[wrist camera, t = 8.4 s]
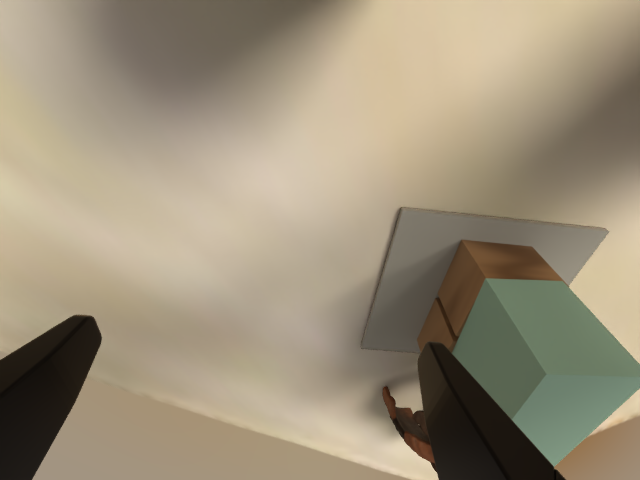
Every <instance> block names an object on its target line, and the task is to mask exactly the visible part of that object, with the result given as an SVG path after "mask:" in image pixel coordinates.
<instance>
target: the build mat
mask: <svg viewBox="0 0 640 480" xmlns="http://www.w3.org/2000/svg"><path fill="white" fill-rule="evenodd" d="M608 233H609V231H608V230H607V229H605V228H598V227H588V226H578V225H569V224H559V223H549V222H540V221H530V220H521V219H511V218H501V217H492V216H482V215H472V214H463V213H453V212H444V211H434V210H424V209H415V208H405V207H401V210H400V214H399V217H398V221H397V224H396V227H395V231H394V234H393V238H392V241H391V244H390V248H389V251H388V254H387V258H386V261H385V265H384V268H383V271H382V275H381V278H380V282H379V285H378V288H377V292H376V295H375V299H374V302H373V305H372V309H371V312H370V315H369V319H368V322H367V326H366V329H365V332H364V336H363V339H362V343H361V349H372V350H385V351H399V352H412V353H421V352H420V348H419V345H418V342H417V338H418V336H419V334H420V332H421V329H422V327H423V325H424V323H425V320H426V318H427V316H428V314H429V311H430V309H431V307H432V305H433V302H434V300H435V298H439V296H438V291H439V289H440V287H441V284H442V282H443V280H444V278H445V275H446V273H447V271H448V269H449V266H450V264H451V262H452V260H453V257H454V255H455V253H456V251H457V248H458V246H459V244H460V242H461V240H471V241H481V242H492V243H502V244H512V245H522V246H532V247H533V248H534V249H535V250H536V251H537V252H538V253H539V255H540V256H541V257H542V258H543V259H544V260H545V261H546V262H547V263H548V264H549V265H550V266H551V268H552V269H553V270H554V271H555V272H556V273H557V274H558V275H559V276H560V277H561V278H562V279H563V280H564V282H565V283H566V284H567V285H568V286H569V285H570V284H571V282H572V281H573V280H574V278H575V277H576V276H577V274H578V273H579V271H580V270H581V269H582V267H583V266H584V265H585V263H586V262H587V261H588V259H589V258H590V257H591V255H592V254H593V253H594V251H595V250H596V249H597V247H598V246H599V245H600V243H601V242H602V241H603V239H604V238H605V237H606V235H607V234H608Z"/></svg>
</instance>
